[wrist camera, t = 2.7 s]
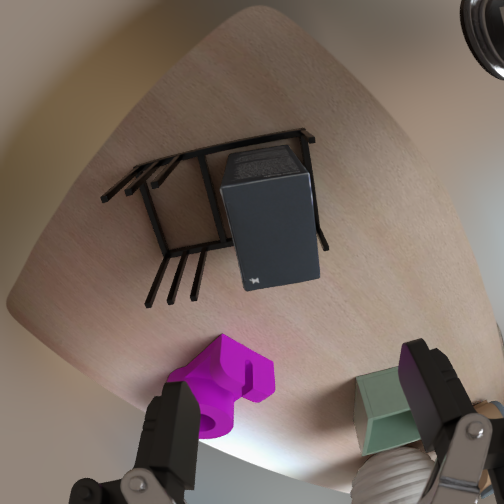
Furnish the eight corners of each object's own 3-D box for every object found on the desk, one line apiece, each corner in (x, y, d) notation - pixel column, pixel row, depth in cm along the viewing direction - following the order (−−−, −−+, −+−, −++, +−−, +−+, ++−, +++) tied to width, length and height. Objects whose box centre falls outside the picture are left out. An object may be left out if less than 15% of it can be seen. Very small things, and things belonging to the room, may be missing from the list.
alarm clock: (473, 428, 60) (499, 491, 41) (443, 442, 61) (466, 508, 42) (494, 387, 50) (532, 462, 31) (460, 403, 52) (494, 485, 33)
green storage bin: (436, 354, 43) (455, 391, 36) (421, 401, 49) (434, 434, 42) (355, 376, 44) (368, 419, 37) (353, 420, 50) (361, 456, 43)
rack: (304, 127, 27) (327, 145, 19) (318, 226, 32) (341, 276, 24) (135, 165, 29) (96, 197, 21) (165, 255, 33) (143, 309, 26)
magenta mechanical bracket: (209, 412, 47) (206, 444, 42) (155, 387, 44) (148, 420, 39) (277, 364, 42) (280, 401, 36) (217, 330, 38) (213, 369, 33)
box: (300, 220, 32) (321, 281, 22) (243, 230, 32) (242, 293, 23) (289, 142, 28) (311, 172, 19) (227, 152, 28) (217, 187, 19)
